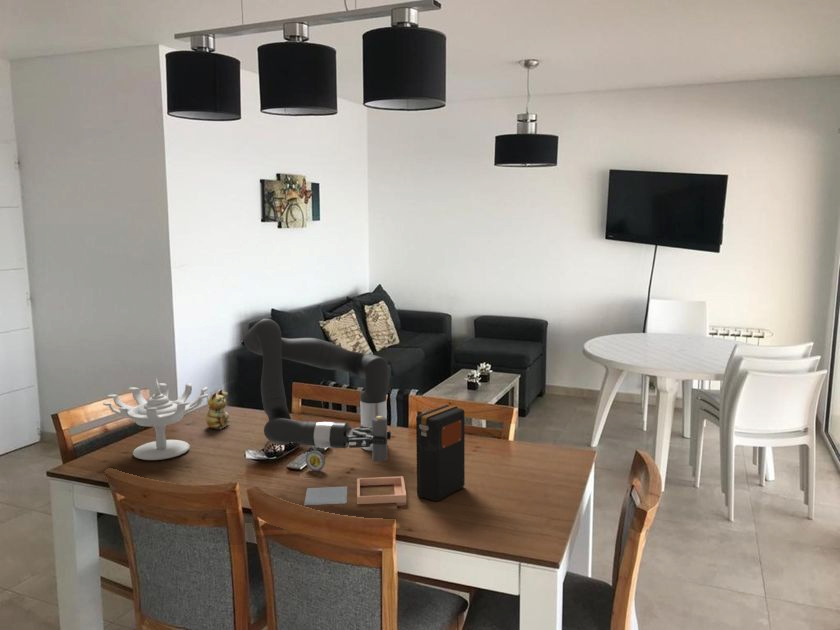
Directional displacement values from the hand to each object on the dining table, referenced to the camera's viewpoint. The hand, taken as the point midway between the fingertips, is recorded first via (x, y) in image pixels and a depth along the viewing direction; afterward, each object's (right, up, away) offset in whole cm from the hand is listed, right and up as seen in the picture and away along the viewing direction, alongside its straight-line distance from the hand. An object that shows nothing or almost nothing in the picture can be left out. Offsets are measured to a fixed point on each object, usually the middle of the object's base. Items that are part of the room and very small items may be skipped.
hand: (388, 437), depth 197 cm
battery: (-3, -6, +1) cm, 7 cm away
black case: (+16, -17, +6) cm, 24 cm away
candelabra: (-82, -13, +42) cm, 93 cm away
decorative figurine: (-71, -9, +70) cm, 100 cm away
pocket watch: (-25, -16, +19) cm, 35 cm away
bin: (-2, -18, +3) cm, 18 cm away
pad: (-18, -18, +2) cm, 26 cm away
